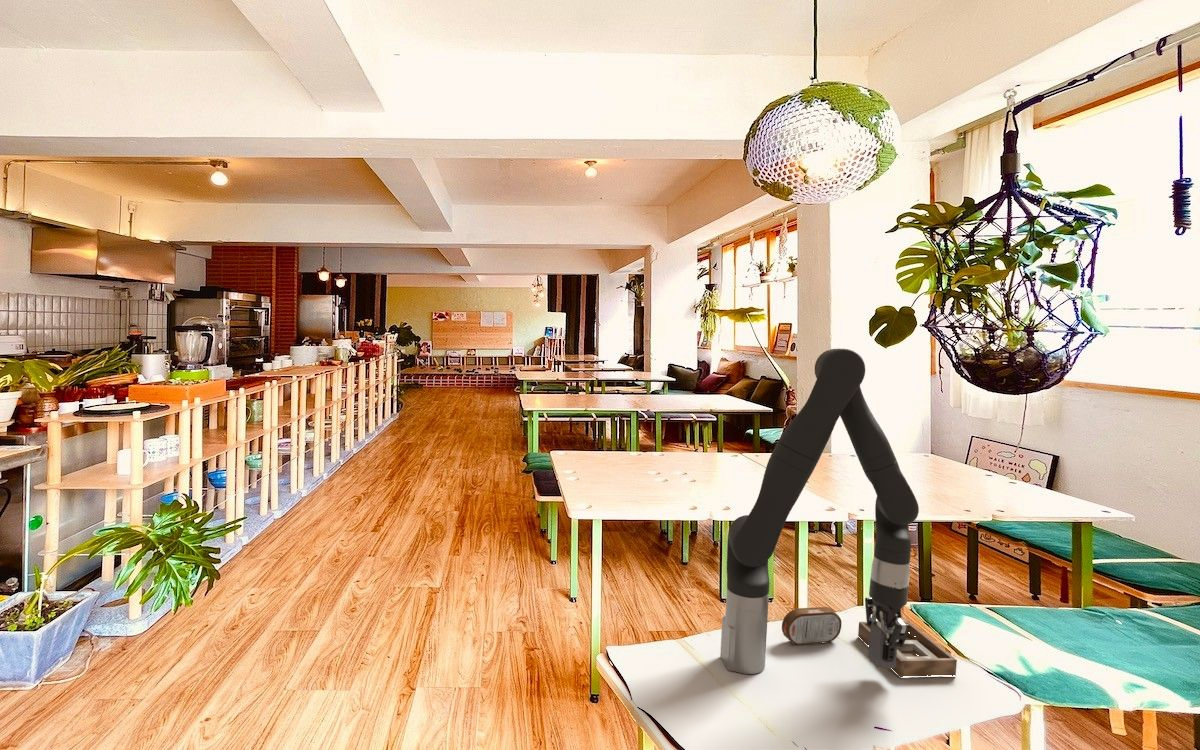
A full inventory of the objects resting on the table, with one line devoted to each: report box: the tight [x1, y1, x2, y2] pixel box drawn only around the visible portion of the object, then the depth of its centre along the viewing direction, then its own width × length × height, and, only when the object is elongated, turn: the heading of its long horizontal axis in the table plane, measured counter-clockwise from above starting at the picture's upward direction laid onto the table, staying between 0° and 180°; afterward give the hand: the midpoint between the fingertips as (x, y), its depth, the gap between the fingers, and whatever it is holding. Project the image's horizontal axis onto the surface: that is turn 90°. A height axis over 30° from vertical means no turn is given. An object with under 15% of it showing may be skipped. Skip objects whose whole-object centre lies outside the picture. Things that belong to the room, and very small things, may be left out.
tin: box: [781, 606, 843, 646], centre depth 148 cm, size 15×3×8 cm, turn 102°
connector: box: [867, 620, 897, 669], centre depth 133 cm, size 4×4×9 cm
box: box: [857, 620, 958, 677], centre depth 143 cm, size 13×18×4 cm
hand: (882, 654), depth 133 cm, fingers closed on connector, 4 cm apart
